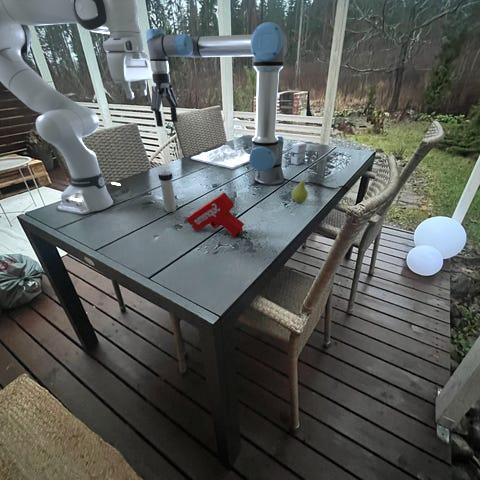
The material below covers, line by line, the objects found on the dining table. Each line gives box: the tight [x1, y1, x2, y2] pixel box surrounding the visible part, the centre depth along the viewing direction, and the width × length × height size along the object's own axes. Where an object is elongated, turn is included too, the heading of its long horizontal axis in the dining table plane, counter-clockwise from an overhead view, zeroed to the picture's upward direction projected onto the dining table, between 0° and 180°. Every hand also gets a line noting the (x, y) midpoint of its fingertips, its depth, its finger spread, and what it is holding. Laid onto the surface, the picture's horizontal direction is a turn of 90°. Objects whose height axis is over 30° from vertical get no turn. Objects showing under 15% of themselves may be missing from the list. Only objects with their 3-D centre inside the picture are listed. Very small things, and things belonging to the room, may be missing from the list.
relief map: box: [190, 144, 250, 170], centre depth 177 cm, size 27×35×5 cm
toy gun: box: [186, 192, 245, 238], centre depth 98 cm, size 18×4×15 cm
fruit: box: [291, 174, 311, 204], centre depth 118 cm, size 7×8×12 cm
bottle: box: [159, 178, 177, 213], centre depth 112 cm, size 5×5×16 cm
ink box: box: [290, 141, 308, 166], centre depth 167 cm, size 8×5×12 cm, turn 135°
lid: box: [157, 170, 174, 181], centre depth 108 cm, size 5×5×2 cm
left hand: (137, 97), depth 89 cm, fingers open, 8 cm apart
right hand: (167, 124), depth 132 cm, fingers open, 13 cm apart
